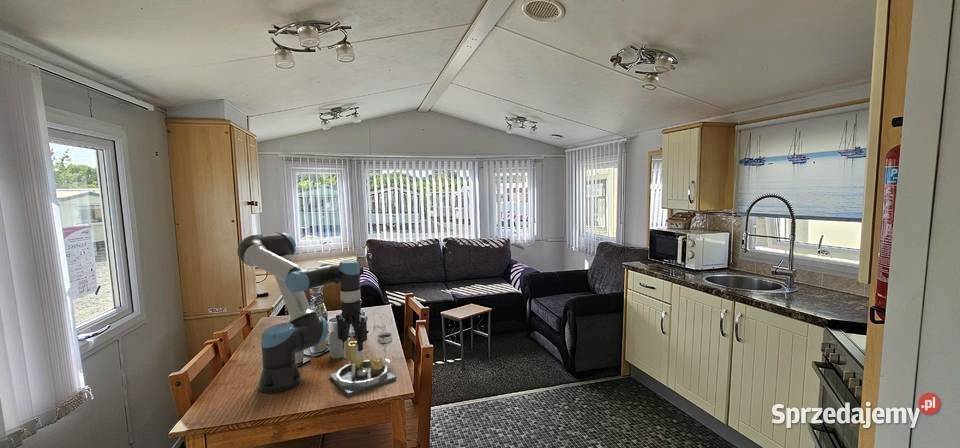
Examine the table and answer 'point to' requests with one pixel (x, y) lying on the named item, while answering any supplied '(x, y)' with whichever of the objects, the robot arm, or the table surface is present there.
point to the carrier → (362, 376)
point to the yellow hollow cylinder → (351, 351)
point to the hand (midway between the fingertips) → (353, 357)
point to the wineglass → (384, 343)
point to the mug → (337, 344)
